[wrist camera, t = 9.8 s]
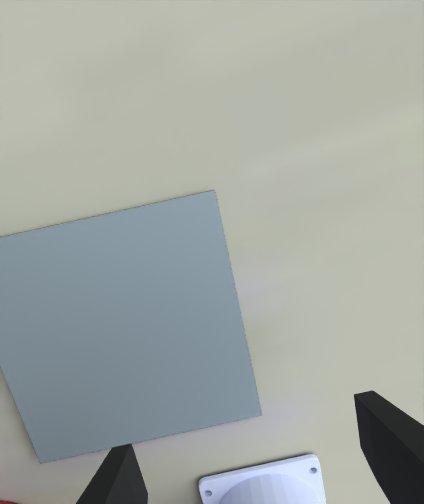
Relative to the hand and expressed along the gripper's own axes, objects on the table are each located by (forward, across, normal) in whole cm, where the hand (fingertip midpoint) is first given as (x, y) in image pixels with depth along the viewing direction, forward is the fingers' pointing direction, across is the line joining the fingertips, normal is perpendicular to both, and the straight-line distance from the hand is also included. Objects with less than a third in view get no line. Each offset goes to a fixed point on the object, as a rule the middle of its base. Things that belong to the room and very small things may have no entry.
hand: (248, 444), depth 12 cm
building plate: (+10, +6, 0) cm, 12 cm away
